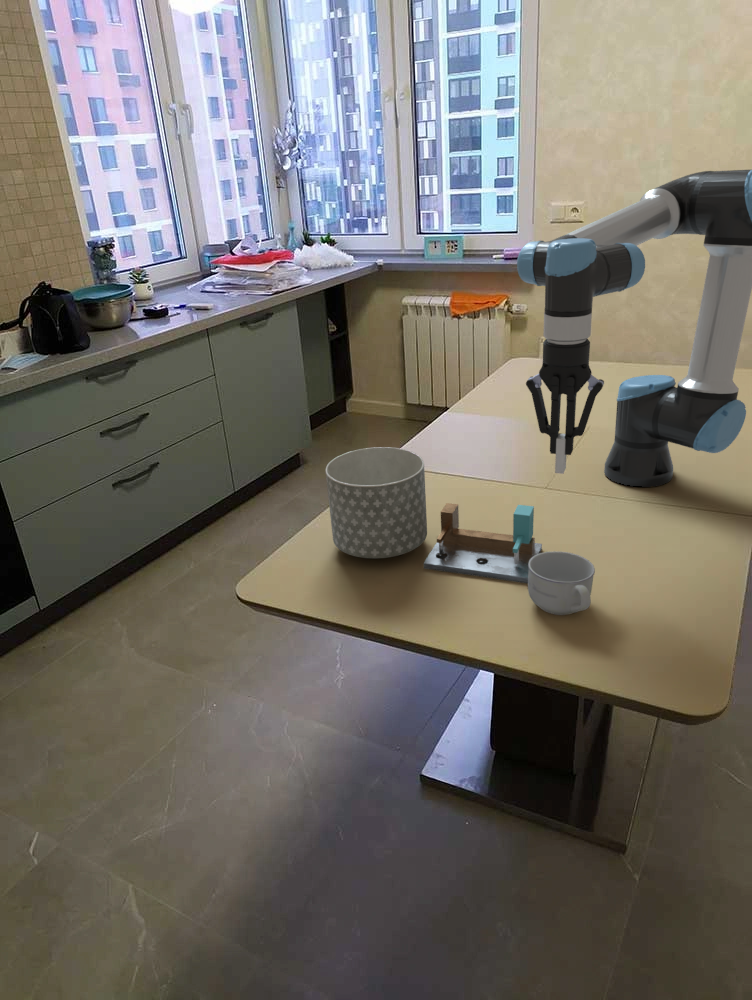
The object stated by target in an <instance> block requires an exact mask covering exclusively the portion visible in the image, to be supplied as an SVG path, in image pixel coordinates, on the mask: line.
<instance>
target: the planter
mask: <svg viewBox="0 0 752 1000" xmlns="http://www.w3.org/2000/svg"><path fill="white" fill-rule="evenodd" d="M325 479H326V487H327V497H328V505H329V515H330V516H329V517H330V523H331V533H332V534H331V535H332V540H333V545H334V546H336V548H338V550H339V551H341V552H343V553H344V554H347V555H349V556H353V557H357V558H363V559H386V558H392V557H398V556H401V555H404V554H407V553H410V552H412V551H414V550H415V549H417V548H418V547H420V546H421V545H422V544H423V543H424V542H425V541H426V539H427V535H428V521H427V519H428V518H427V501H426V500H427V499H426V496H427V495H426V473H425V462H424V459H423V458H422V457H421V455H419V454H417V453H416V452H413V451H411V450H408V449H403V448H399V447H389V446H388V447H385V446H382V447H381V446H378V447H377V446H375V447H367V448H366V447H365V448H359V449H356V450H351V451H347V452H345V453H343V454H341V455H338V456H335V458H333V459H332V460H330V461H329V462H328V463H327V465H326V467H325Z"/></svg>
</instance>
